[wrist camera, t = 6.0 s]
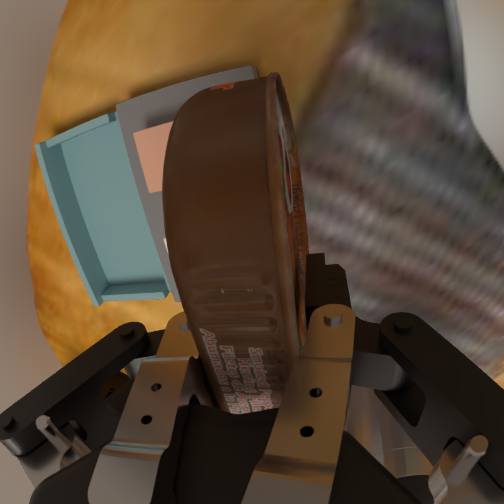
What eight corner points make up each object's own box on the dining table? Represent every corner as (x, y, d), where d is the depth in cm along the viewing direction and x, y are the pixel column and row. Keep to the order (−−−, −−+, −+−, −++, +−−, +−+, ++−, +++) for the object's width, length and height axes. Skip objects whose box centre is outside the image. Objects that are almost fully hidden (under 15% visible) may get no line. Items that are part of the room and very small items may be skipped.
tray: (181, 282, 35) (168, 303, 31) (110, 287, 37) (94, 306, 34) (131, 108, 27) (108, 111, 23) (58, 137, 29) (34, 145, 25)
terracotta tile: (216, 173, 26) (207, 181, 23) (161, 184, 27) (149, 193, 25) (202, 113, 23) (192, 116, 21) (147, 129, 25) (132, 133, 22)
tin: (316, 364, 18) (324, 494, 11) (263, 368, 19) (251, 497, 11) (287, 81, 12) (299, 44, 4) (211, 93, 12) (112, 86, 5)
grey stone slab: (294, 276, 32) (293, 293, 30) (184, 286, 35) (175, 302, 32) (256, 68, 24) (251, 65, 21) (131, 102, 26) (115, 104, 24)
